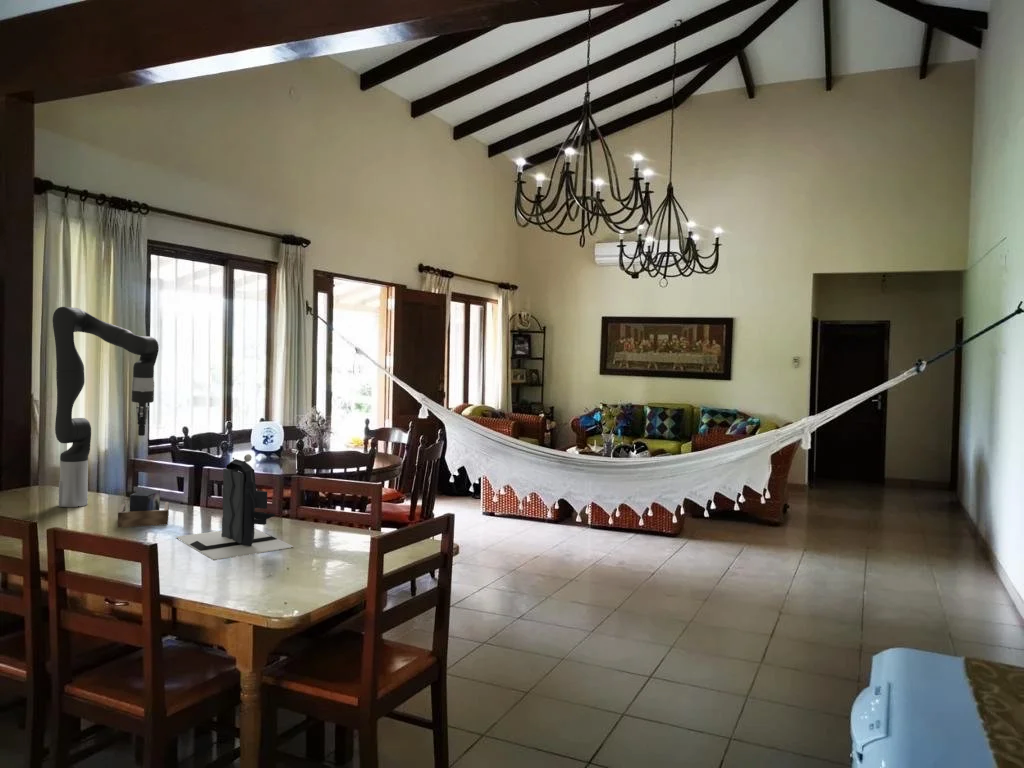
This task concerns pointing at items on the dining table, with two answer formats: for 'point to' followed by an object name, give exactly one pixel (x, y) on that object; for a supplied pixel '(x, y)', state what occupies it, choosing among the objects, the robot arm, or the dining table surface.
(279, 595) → the dining table surface
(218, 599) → the dining table surface
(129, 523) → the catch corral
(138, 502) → the small box
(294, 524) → the dining table surface
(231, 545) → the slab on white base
